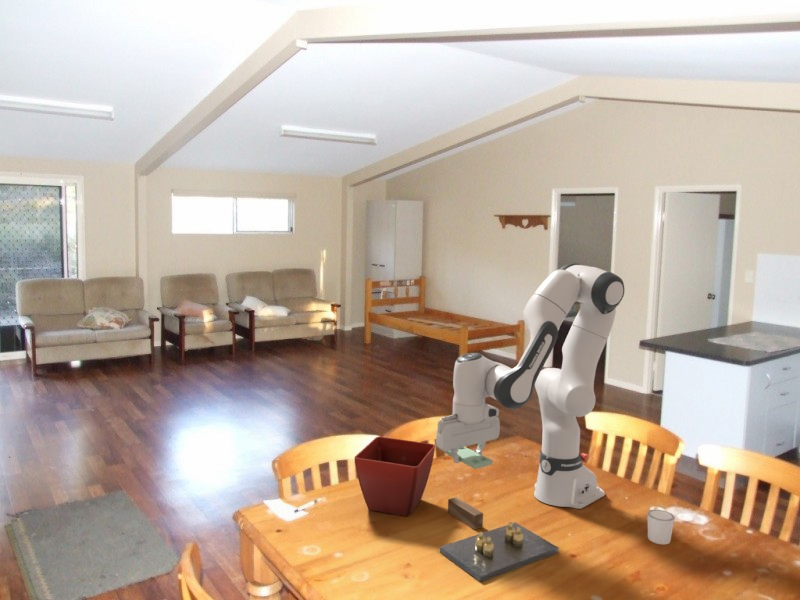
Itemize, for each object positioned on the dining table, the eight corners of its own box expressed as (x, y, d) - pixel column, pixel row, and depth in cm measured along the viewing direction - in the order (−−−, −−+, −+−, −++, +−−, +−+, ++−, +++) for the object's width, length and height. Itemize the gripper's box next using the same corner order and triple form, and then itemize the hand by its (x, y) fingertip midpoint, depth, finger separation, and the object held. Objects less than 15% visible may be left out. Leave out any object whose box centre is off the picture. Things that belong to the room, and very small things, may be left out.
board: (444, 452, 191) (444, 448, 190) (460, 448, 194) (460, 444, 194) (475, 469, 179) (475, 464, 179) (492, 464, 182) (492, 460, 182)
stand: (456, 510, 195) (456, 497, 194) (482, 526, 185) (483, 513, 184) (447, 512, 193) (448, 499, 192) (474, 529, 183) (474, 515, 182)
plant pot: (416, 524, 185) (417, 466, 183) (352, 513, 191) (353, 457, 189) (434, 497, 203) (436, 444, 201) (376, 487, 209) (377, 436, 207)
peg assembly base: (515, 527, 185) (516, 506, 184) (558, 552, 171) (559, 530, 170) (439, 552, 170) (440, 529, 170) (479, 582, 157) (480, 557, 156)
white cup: (672, 535, 182) (674, 511, 181) (673, 547, 175) (675, 522, 174) (645, 531, 184) (647, 507, 183) (645, 542, 178) (647, 518, 177)
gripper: (445, 421, 176) (444, 470, 178) (503, 408, 187) (502, 455, 189) (431, 414, 182) (430, 463, 184) (488, 403, 193) (487, 449, 195)
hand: (467, 459), depth 186 cm, fingers closed on board, 6 cm apart
